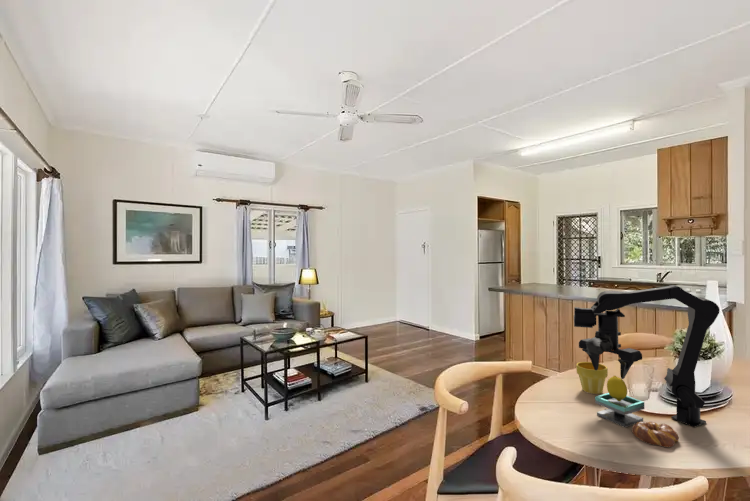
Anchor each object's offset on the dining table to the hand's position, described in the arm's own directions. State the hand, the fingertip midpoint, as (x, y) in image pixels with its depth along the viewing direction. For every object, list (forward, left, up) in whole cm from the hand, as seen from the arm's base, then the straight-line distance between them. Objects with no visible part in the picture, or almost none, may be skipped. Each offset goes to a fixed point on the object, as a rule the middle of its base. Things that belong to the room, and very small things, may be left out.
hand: (608, 374), depth 124 cm
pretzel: (+5, +17, -13) cm, 22 cm away
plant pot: (-9, -13, -12) cm, 20 cm away
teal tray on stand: (+3, +5, -12) cm, 14 cm away
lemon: (+3, +5, -7) cm, 9 cm away
